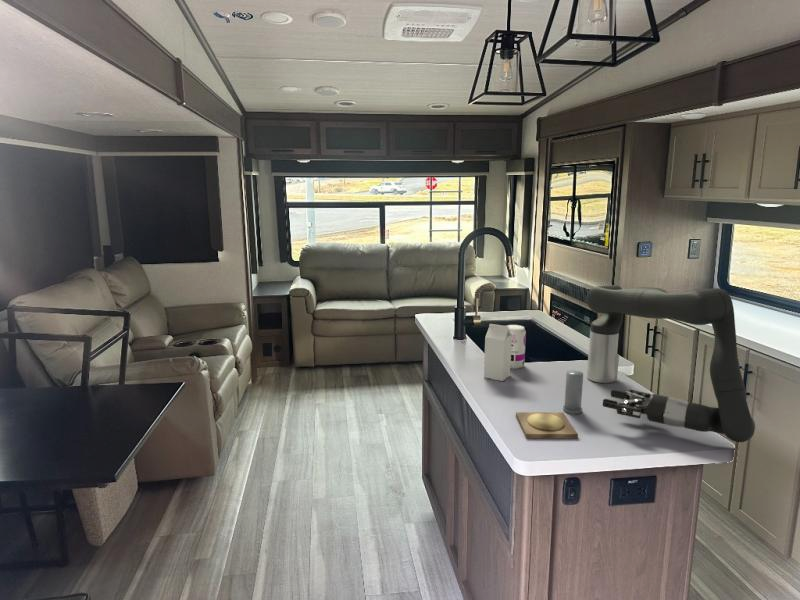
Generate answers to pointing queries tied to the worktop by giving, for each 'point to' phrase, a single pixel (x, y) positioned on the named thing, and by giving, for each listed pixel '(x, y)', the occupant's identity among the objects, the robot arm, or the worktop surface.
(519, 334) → the supplement can
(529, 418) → the post base
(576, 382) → the grey rounded cylinder
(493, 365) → the milk carton
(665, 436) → the worktop surface
